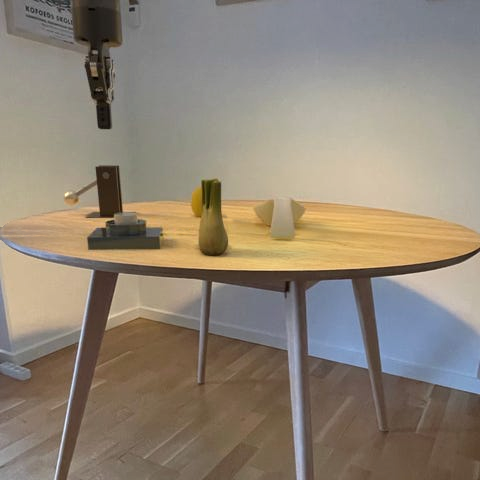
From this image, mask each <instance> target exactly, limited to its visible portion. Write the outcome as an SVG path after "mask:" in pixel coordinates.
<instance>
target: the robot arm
mask: <svg viewBox="0 0 480 480" xmlns="http://www.w3.org/2000/svg"><path fill="white" fill-rule="evenodd" d="M69 4H70V14H71V25H72V35H73V40H74V42H75V43H76V44H78V45H80V46H85V47H87V55H85V57H84V59H85V60H84V70H85V73H86V78H87V82H88V87H89V91H90V97H91V99H92V100H93V103H94V105H95V111H96V123H97V128H98V129H100V130H112V129H113V117H112V105H113V103H114V100H115V96H114V95H115V80H116V79H115V78H116V74H115V71H116V67H115V60H114V59H113V58H112V56H111V53H110V49H111V48H119V47H121V46H122V45H123V26H122V25H123V23H122V9H121V8H122V7H121V0H69Z"/></svg>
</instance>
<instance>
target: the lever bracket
mask: <svg viewBox="0 0 480 480" xmlns="http://www.w3.org/2000/svg"><path fill="white" fill-rule="evenodd" d="M110 166H111V167H110ZM94 167H95V168H94V169H95V177H96V178H95V180H96V179H97V185H96V187H97V188H96V189H97V197H98V199H97V200H98V207H99V209H98V210H99V211H92V212H91V213H90V214H88V215H87V216H86V217H85V219H114V214H115V213H121V212H124V209H123V196H122V183H121V171H120V169H121V167H120V165H116V164H115V165H111V164H110V165H109V164H108V165H105V164H104V165H101V164H100V165H97V166H94ZM132 212H133V213H137V212H136V211H132Z"/></svg>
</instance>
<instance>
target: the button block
mask: <svg viewBox="0 0 480 480" xmlns="http://www.w3.org/2000/svg"><path fill="white" fill-rule="evenodd" d="M104 224H105V227H96V228H95V229H94V230H93V231H92V232H91V233H90V234H88V236H86V241H87V248H88V251H95V250H96V251H100V250H101V251H103V250H105V251H106V250H107V251H108V250H112V251H113V250H117V251H118V250H160V249H161V248H162V245H163V242H164V230H163V229H164V228H163V226H157V227H156V226H153V227H152V226H151V227H150V226H148V222H147V220H145V219H142V218H138V223H133V224H116V223H115V222H114V219H109V220H106V221H105V223H104Z"/></svg>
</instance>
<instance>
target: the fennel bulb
mask: <svg viewBox="0 0 480 480" xmlns="http://www.w3.org/2000/svg"><path fill="white" fill-rule="evenodd" d="M201 185H202V213H201V217H200V221H199V228H198V229H199V230H198V238H197V239H198V240H197V241H198V247H199V248H198V249H199V251H200V253H201V254H203V255H206V256H218V255H219V256H220V255H221V254H223V253H224V252H226V250H227V249H228V247H229V237H228V233H227V231H226V228H225V225H224V219H223V214H222V213H223V212H222V181H221V180H219V179H218V178H207V179H205V178H204V179H201V183H200V186H201Z"/></svg>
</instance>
